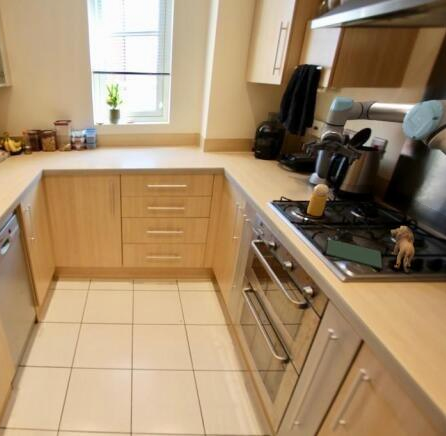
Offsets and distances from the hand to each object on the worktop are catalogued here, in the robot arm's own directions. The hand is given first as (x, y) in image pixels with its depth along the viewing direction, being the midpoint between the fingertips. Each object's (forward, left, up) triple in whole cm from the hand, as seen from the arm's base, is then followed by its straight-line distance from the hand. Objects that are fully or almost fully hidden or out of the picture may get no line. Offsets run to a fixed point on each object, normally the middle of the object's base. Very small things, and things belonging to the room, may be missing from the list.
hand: (331, 158), depth 120 cm
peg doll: (0, +8, -21) cm, 22 cm away
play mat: (-13, +33, -21) cm, 41 cm away
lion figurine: (-24, +29, -21) cm, 43 cm away
